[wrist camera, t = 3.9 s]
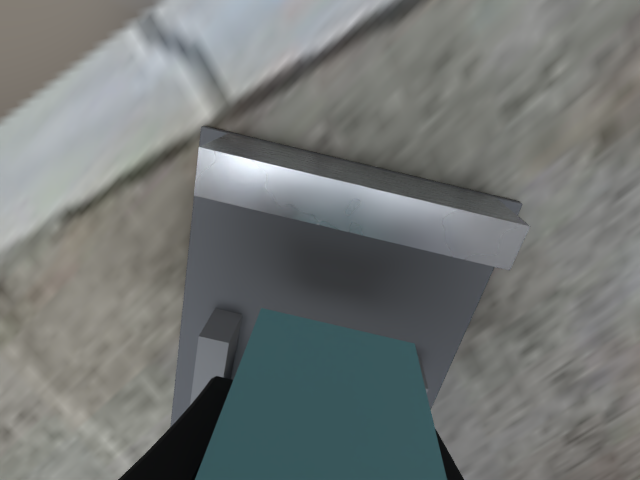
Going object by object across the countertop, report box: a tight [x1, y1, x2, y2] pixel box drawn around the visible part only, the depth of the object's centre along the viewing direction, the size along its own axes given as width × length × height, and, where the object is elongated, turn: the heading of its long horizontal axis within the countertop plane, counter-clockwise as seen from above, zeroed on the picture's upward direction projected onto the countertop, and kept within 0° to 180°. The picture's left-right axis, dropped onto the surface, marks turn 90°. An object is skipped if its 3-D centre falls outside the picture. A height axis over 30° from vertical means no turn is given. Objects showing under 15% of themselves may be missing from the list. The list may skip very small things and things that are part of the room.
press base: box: [171, 126, 530, 426], centre depth 16 cm, size 12×16×3 cm
